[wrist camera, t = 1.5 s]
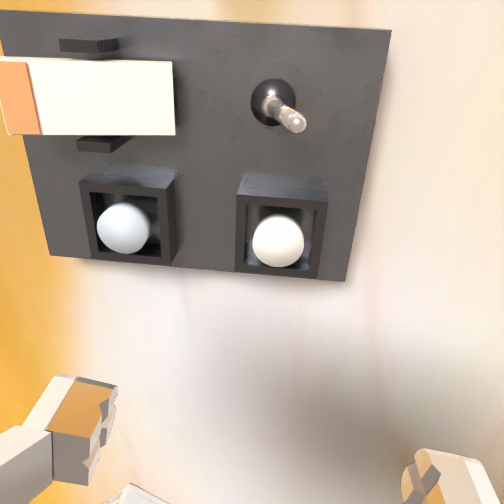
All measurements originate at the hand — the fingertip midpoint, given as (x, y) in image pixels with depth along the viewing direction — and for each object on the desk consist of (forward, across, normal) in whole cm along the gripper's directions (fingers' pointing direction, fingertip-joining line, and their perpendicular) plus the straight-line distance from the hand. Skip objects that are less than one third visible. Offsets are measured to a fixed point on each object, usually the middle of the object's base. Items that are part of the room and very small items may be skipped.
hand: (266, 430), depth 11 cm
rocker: (+18, +12, -3) cm, 22 cm away
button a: (+17, -1, +3) cm, 17 cm away
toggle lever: (+17, +2, -5) cm, 18 cm away
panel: (+21, +6, 0) cm, 22 cm away
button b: (+17, +9, +4) cm, 20 cm away
